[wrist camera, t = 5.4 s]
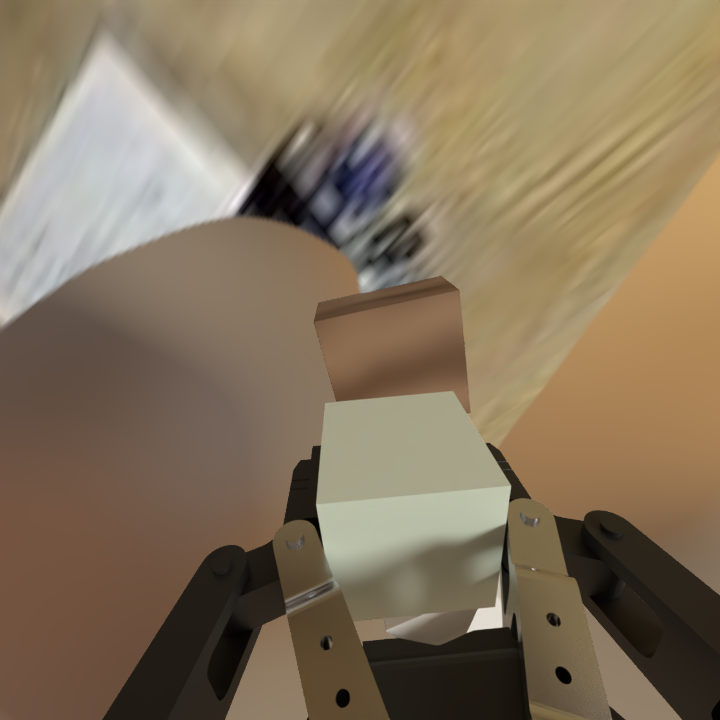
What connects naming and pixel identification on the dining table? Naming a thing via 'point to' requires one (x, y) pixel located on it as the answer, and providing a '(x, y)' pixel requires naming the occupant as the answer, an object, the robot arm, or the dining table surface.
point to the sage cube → (410, 506)
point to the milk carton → (445, 623)
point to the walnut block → (395, 342)
